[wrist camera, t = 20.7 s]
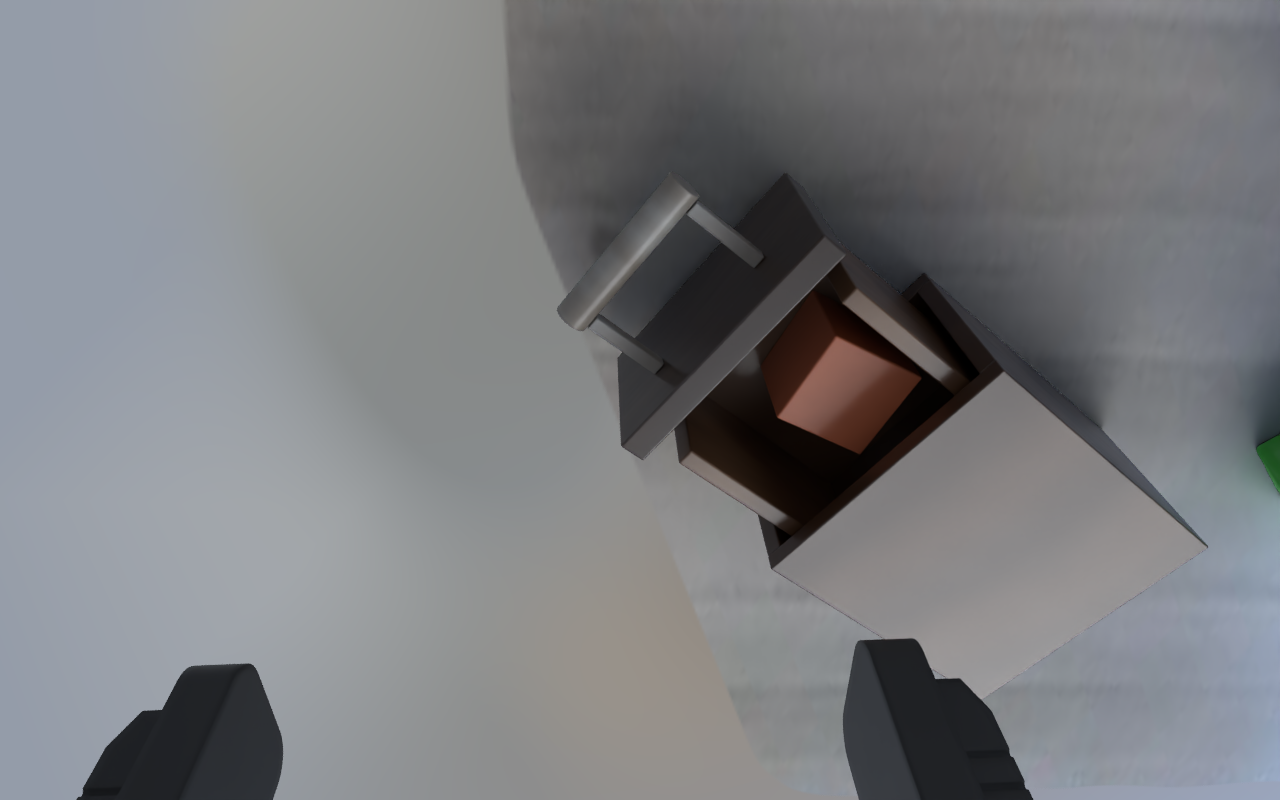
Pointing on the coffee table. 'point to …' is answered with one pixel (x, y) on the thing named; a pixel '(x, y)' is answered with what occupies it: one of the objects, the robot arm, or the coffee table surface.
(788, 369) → the block
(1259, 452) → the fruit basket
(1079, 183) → the coffee table surface
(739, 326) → the drawer
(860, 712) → the robot arm
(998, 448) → the cabinet
